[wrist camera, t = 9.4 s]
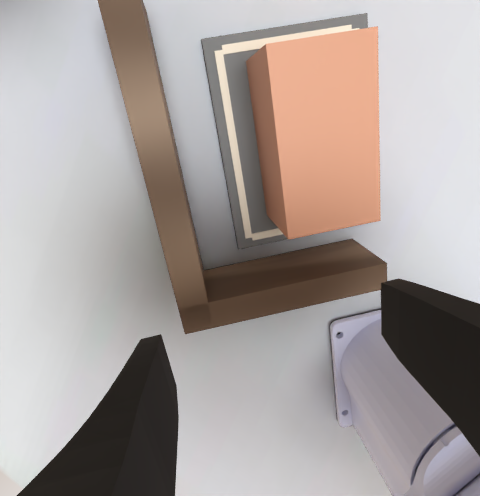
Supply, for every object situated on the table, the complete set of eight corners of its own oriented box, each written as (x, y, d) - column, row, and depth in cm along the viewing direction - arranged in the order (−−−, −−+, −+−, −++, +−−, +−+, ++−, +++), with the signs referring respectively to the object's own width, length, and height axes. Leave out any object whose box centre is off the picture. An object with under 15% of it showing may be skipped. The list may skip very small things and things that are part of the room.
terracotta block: (332, 47, 18) (377, 26, 14) (340, 199, 21) (380, 220, 17) (245, 61, 18) (265, 44, 13) (266, 214, 20) (288, 239, 16)
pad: (370, 220, 22) (373, 221, 22) (238, 247, 21) (238, 250, 21) (364, 14, 18) (368, 12, 18) (201, 40, 17) (201, 38, 17)
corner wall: (353, 260, 23) (386, 288, 19) (184, 297, 22) (184, 334, 18) (340, -18, 17) (383, -54, 14) (114, 16, 16) (94, -14, 13)
